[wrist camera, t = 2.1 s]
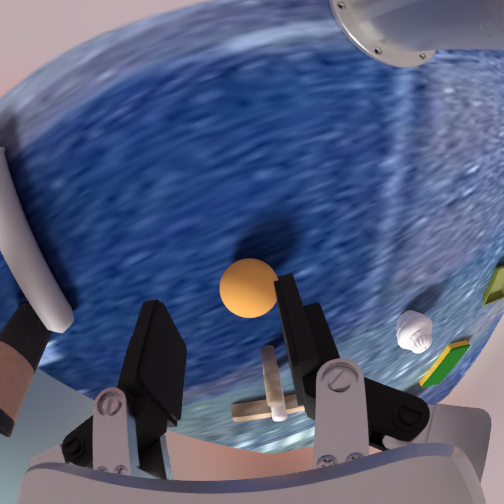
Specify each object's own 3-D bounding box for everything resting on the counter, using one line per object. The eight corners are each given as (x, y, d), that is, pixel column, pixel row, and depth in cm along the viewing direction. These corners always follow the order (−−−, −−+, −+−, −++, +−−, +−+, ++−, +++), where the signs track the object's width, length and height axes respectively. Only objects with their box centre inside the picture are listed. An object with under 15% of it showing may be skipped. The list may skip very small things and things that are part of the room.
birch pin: (273, 343, 37) (282, 398, 30) (275, 352, 38) (284, 405, 31) (259, 346, 37) (266, 401, 30) (261, 354, 39) (268, 408, 31)
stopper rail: (327, 386, 45) (331, 399, 43) (327, 391, 46) (331, 404, 44) (231, 404, 46) (232, 417, 43) (234, 408, 47) (234, 421, 44)
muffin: (381, 329, 38) (399, 363, 32) (404, 299, 36) (426, 333, 30) (406, 332, 40) (424, 363, 34) (427, 305, 37) (449, 335, 31)
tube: (78, 334, 30) (-8, 149, 17) (49, 344, 28) (-39, 171, 15) (82, 309, 34) (11, 143, 21) (54, 319, 33) (-19, 162, 19)
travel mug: (58, 341, 36) (19, 444, 18) (24, 329, 34) (-19, 421, 17) (48, 308, 32) (-6, 421, 15) (13, 296, 30) (-45, 394, 13)
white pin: (277, 363, 40) (286, 414, 32) (279, 370, 41) (287, 419, 33) (264, 366, 40) (271, 416, 32) (266, 372, 41) (273, 422, 33)
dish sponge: (465, 338, 46) (470, 345, 44) (436, 376, 53) (440, 383, 51) (447, 342, 45) (452, 350, 43) (417, 381, 52) (421, 389, 50)
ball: (270, 242, 29) (279, 276, 24) (278, 286, 32) (287, 323, 27) (213, 253, 29) (211, 289, 24) (227, 296, 32) (228, 334, 27)
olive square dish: (500, 291, 40) (505, 297, 38) (477, 300, 39) (482, 306, 38) (514, 256, 35) (520, 262, 33) (492, 262, 35) (499, 268, 33)
